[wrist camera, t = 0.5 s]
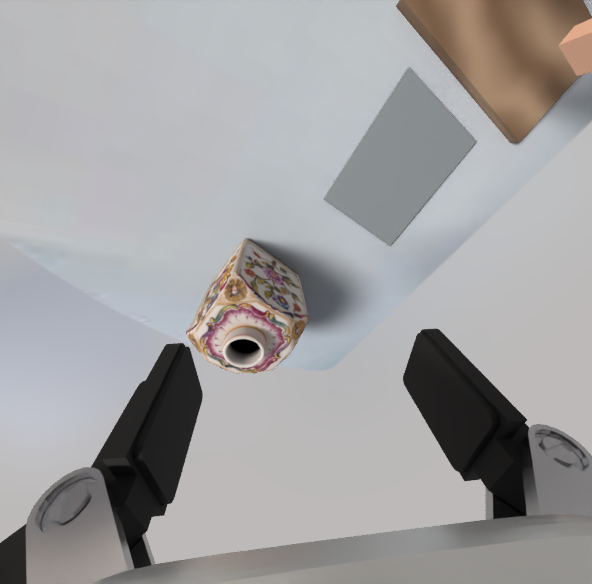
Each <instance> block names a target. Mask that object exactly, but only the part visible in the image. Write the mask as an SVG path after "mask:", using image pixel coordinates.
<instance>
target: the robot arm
mask: <svg viewBox="0 0 592 584" xmlns="http://www.w3.org/2000/svg"><path fill="white" fill-rule="evenodd" d="M403 382H404V385H405V386H406V388H407V390H408V392H409V394H410V395H411V397H412V399H413V400H414V402H415V404H416V405H417V407H418V408H419V410H420V412H421V414H422V416H423V417H424V419H425V421H426V422H427V424H428V426H429V428H430V429H431V431H432V433H433V434H434V436H435V438H436V440H437V441H438V443H439V445H440V446H441V448H442V450H443V452H444V453H445V455H446V457H447V458H448V460H449V462H450V463H451V465H452V466H453V468H454V469H455V470H456V471H458V472H460V474H461V476H462V478H463V479H464V481H470V480H479V479H481V480H482V482H483V483H484V485H485V486H486V520H481V521H474V522H465V523H457V524H449V525H441V526H432V527H425V528H416V529H409V530H401V531H393V532H385V533H378V534H370V535H362V536H354V537H346V538H338V539H331V540H323V541H315V542H308V543H300V544H292V545H286V546H278V547H271V548H263V549H255V550H248V551H240V552H233V553H225V554H218V555H212V556H205V557H199V558H193V559H186V560H180V561H173V562H167V563H161V564H155V562H154V558H153V556H152V553H151V549H150V546H149V543H148V541H147V537H146V534H145V532H146V531H147V530H148V527H149V524H150V520H151V517H153V516H162V515H164V514H165V511H166V507H167V504H170V503H172V501H173V499H174V497H175V493H176V490H177V487H178V483H179V479H180V476H181V472H182V468H183V466H184V462H185V458H186V455H187V451H188V447H189V444H190V441H191V437H192V434H193V430H194V427H195V423H196V419H197V416H198V412H199V409H200V406H201V402H202V389H201V386H200V382H199V379H198V376H197V372H196V368H195V365H194V362H193V358H192V355H191V351H190V348H189V347H185V345H184V344H183V343H178V344H167V345H166V346H165V347H164V349H163V351H162V352H161V354H160V356H159V358H158V360H157V361H156V363H155V365H154V367H153V369H152V370H151V372H150V374H149V376H148V378H147V379H146V381H143V382H142V383H141V384H140V385H139V386H138V387H137V389H136V391H135V392H134V394H133V396H132V398H131V399H130V401H129V403H128V404H127V406H126V408H125V410H124V411H123V413H122V415H121V417H120V418H119V420H118V422H117V423H116V425H115V427H114V429H113V430H112V432H111V434H110V436H109V437H108V439H107V441H106V442H105V444H104V446H103V448H102V449H101V451H100V453H99V454H98V456H97V458H96V460H95V461H94V463H93V465H92V466H91V467H85V468H81V469H78V470H75V471H73V472H71V473H69V474H67V475H65V476H63V477H62V478H61V479H60V480H58V481H57V482H55V483H54V484H53V485H52V486H51V487H50V488H49V489H48V490H47V491H46V492H45V493H44V494H43V495H42V496H41V497H40V498H39V500H38V501H37V503H36V504H35V505H34V507H33V509H32V511H31V513H30V515H29V517H28V519H27V524H25V525H24V526H23V527H21V528H20V529H19V530H17V531H16V532H15V533H13V534H12V535H11V536H9V537H8V538H7V539H5V540H4V541H2V542H1V543H0V584H592V456H591V455H590V453H589V452H588V451H587V450H586V449H585V448H584V447H583V446H582V445H581V444H580V443H578V442H577V441H576V440H574V439H573V438H572V437H570V436H569V435H567V434H565V433H564V432H562V431H560V430H558V429H556V428H553V427H550V426H547V425H540V424H537V425H532V426H531V427H530V428H529V427H528V426H527V425H526V424H525V422H526V421H527V419H526V418H525V417H524V416H523V415H522V414H521V413H520V412H519V411H518V410H517V409H516V408H515V407H514V406H513V405H512V404H511V403H510V402H509V401H508V400H507V399H506V398H505V397H504V396H503V395H502V394H501V392H499V390H498V389H497V388H496V387H495V386H494V385H493V384H492V383H491V382H490V381H489V380H488V379H487V378H486V377H485V376H484V375H483V374H482V373H481V372H480V371H479V370H478V369H477V368H476V367H475V366H474V365H473V364H472V363H471V362H470V361H469V360H468V359H467V358H466V357H465V356H464V355H463V354H462V353H461V351H459V349H458V348H457V347H456V346H455V345H454V344H453V343H452V342H451V341H450V340H449V339H448V338H447V337H446V336H445V335H444V334H443V333H442V332H441V331H440V330H439V329H424V330H422V331H421V332H420V333H419V334H417V336H416V340H415V343H414V346H413V349H412V352H411V355H410V358H409V361H408V364H407V367H406V370H405V373H404V376H403Z"/></svg>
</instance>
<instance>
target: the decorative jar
mask: <svg viewBox="0 0 592 584" xmlns="http://www.w3.org/2000/svg"><path fill="white" fill-rule="evenodd" d="M308 320H309V317H308V312H307V308H306V304H305V299H304V294H303V289H302V286H301V282H300V278H299V275H298V274H296V273H295V272H293V271H292V270H290V269H289V268H288V267H286V266H285V265H284V264H282V263H281V262H280V261H278V260H277V259H275V258H274V257H273V256H271V255H270V254H268V253H267V252H266V251H264V250H263V249H261V248H260V247H258V246H257V245H255V244H254V243H253V242H251V241H250V240H248V239H244V240H243V241H242V243H241V244H240V245H239V247H238V248H237V249H236V251H235V252H234V254H233V255H232V256H231V258H230V259H229V260H228V262H227V263H226V264H225V266H224V267H223V269H222V270H221V271H220V273H219V274H218V276H217V277H216V278H215V280H214V281H213V283H212V284H211V285H210V287H209V288H208V290H207V292H206V294H205V296H204V298H203V300H202V302H201V304H200V306H199V308H198V310H197V312H196V315H195V317H194V319H193V322H192V324H191V326H190V328H189V330H187V332H186V334H187V336H188V338H189V339H190V341H191V342H192V344H193V345H194V346H195V347H196V348H197V350H198V351H199V352H200V353H201V354H202V355H203V357H204V358H205V359H206V360H207V361H208V362H210V363H212V364H214V365H216V366H219V367H220V368H222V369H225V370H228V371H231V372H233V373H237V374H238V373H257V372H261V371H269V370H273V369H274V368H275V367H276V366H278V365H279V364H280V363H281V362H282V361H283V360H284V359H286V358H287V356H288V355H289V354H290V353H291V351H292V350H293V349H294V347H295V345H296V343H297V342H298V339H299V338H300V336H301V334H302V333H303V330H304V328H305V326H306V324H307V323H308Z"/></svg>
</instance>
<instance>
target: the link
mask: <svg viewBox="0 0 592 584" xmlns="http://www.w3.org/2000/svg"><path fill="white" fill-rule="evenodd" d="M558 46H559V47H560V49H561V51H562V52H563V54H564V56H565V57H566V59H567V60H568V62H569V64H570V65H571V67H572V69H573V70H574V72H575V74H576V75H577V76H579V75H583V74H587V73H590V72H592V18H591V19H589V20H587V21H585V22H582V23H580V24H578V25H576V26H574V27H573V28H572V30H571V31H570V32H569V33H568V34H567V36H566V37H565V38H564V39H563V40H562V42H561V43H560V44H559V45H558Z"/></svg>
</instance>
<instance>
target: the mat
mask: <svg viewBox="0 0 592 584" xmlns="http://www.w3.org/2000/svg"><path fill="white" fill-rule="evenodd" d="M475 142H476V140H475V139H474V138H473V136H472V135H471V134H470V133H469V132H468V131H467V130H466V129H465V128H464V127H463V125H462V124H461V123H460V122H459V121H458V120H457V119H456V118H455V117H454V116H453V114H452V113H451V112H450V111H449V110H448V109H447V108H446V107H445V106H444V105H443V103H442V102H441V101H440V100H439V99H438V98H437V97H436V96H435V95H434V94H433V92H432V91H431V90H430V89H429V88H428V87H427V86H426V85H425V84H424V83H423V81H422V80H421V79H420V78H419V77H418V76H417V75H416V74H415V73H414V71H413V70H412V69H411V68H410V67H409V68H408V69H407V70H406V72H405V73H404V75H403V76H402V78H401V79H400V81H399V83H398V84H397V86H396V87H395V89H394V90H393V92H392V93H391V95H390V97H389V98H388V100H387V101H386V103H385V104H384V106H383V107H382V109H381V111H380V112H379V114H378V115H377V117H376V118H375V120H374V121H373V123H372V124H371V126H370V128H369V129H368V131H367V132H366V134H365V135H364V137H363V138H362V140H361V142H360V143H359V145H358V146H357V148H356V149H355V151H354V152H353V154H352V156H351V157H350V159H349V160H348V162H347V163H346V165H345V166H344V168H343V170H342V171H341V173H340V174H339V176H338V177H337V179H336V180H335V182H334V184H333V185H332V187H331V188H330V190H329V191H328V193H327V194H326V196H325V198H324V200H325V201H327V202H328V203H329V204H331V205H332V206H334V207H335V208H337V209H338V210H339V211H341V212H342V213H344V214H345V215H346V216H348V217H349V218H351V219H352V220H354V221H355V222H356V223H358V224H359V225H361V226H362V227H363V228H365V229H366V230H368V231H369V232H371V233H372V234H373V235H375V236H376V237H378V238H379V239H380V240H382V241H383V242H385V243H386V244H388V245H389V246H391V244H392V243H393V242H394V241H395V240H396V238H397V237H398V236H399V235H400V233H401V232H402V231H403V230H404V229H405V227H406V226H407V225H408V224H409V223H410V221H411V220H412V219H413V218H414V216H415V215H416V214H417V213H418V212H419V210H420V209H421V208H422V207H423V206H424V204H425V203H426V202H427V201H428V199H429V198H430V197H431V196H432V195H433V193H434V192H435V191H436V190H437V189H438V187H439V186H440V185H441V184H442V182H443V181H444V180H445V179H446V178H447V176H448V175H449V174H450V173H451V172H452V170H453V169H454V168H455V167H456V165H457V164H458V163H459V162H460V161H461V159H462V158H463V157H464V156H465V155H466V153H467V152H468V151H469V150H470V149H471V147H472V146H473V145H474V144H475Z"/></svg>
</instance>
